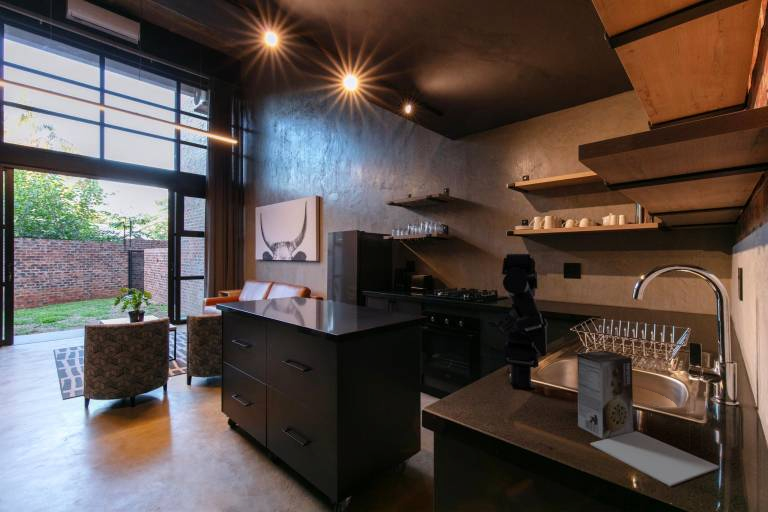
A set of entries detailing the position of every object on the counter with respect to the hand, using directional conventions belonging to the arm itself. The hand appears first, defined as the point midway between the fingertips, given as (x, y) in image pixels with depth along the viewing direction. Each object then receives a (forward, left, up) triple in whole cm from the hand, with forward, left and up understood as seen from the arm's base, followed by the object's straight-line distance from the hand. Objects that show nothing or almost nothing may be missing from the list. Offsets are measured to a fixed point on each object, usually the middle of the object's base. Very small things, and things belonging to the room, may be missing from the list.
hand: (544, 356), depth 90 cm
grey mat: (+23, +10, -12) cm, 28 cm away
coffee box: (+13, +8, -13) cm, 20 cm away
